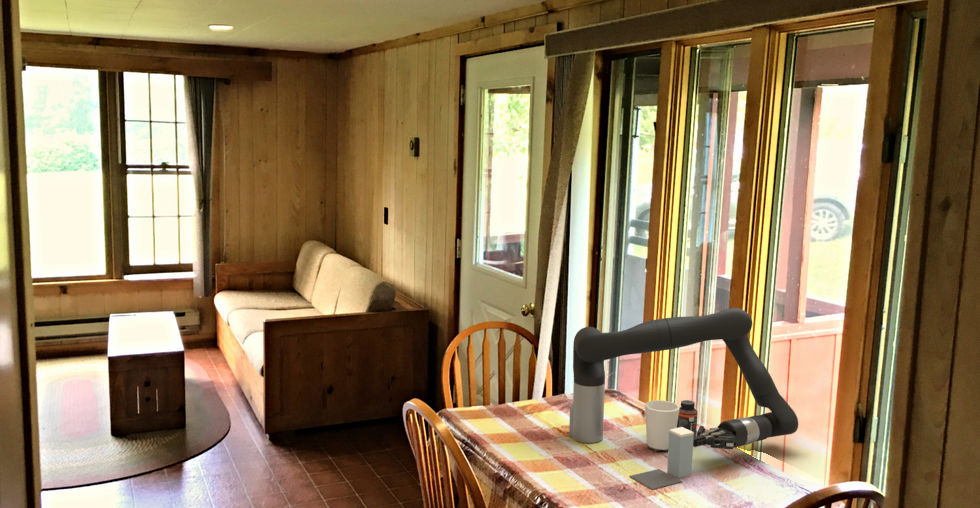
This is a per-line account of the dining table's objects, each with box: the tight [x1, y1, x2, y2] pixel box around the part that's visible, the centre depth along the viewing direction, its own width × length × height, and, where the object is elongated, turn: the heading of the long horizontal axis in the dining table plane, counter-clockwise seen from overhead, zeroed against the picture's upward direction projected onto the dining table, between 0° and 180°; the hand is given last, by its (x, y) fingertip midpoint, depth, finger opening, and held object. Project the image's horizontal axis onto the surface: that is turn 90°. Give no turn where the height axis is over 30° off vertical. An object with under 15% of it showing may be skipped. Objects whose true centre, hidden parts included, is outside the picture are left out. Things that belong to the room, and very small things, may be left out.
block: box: [666, 427, 694, 479], centre depth 218 cm, size 4×4×12 cm
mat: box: [629, 468, 683, 491], centre depth 214 cm, size 9×10×1 cm
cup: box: [644, 399, 680, 453], centre depth 236 cm, size 10×10×13 cm
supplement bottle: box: [677, 399, 698, 437], centre depth 243 cm, size 6×6×11 cm
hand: (692, 442), depth 219 cm, fingers closed
